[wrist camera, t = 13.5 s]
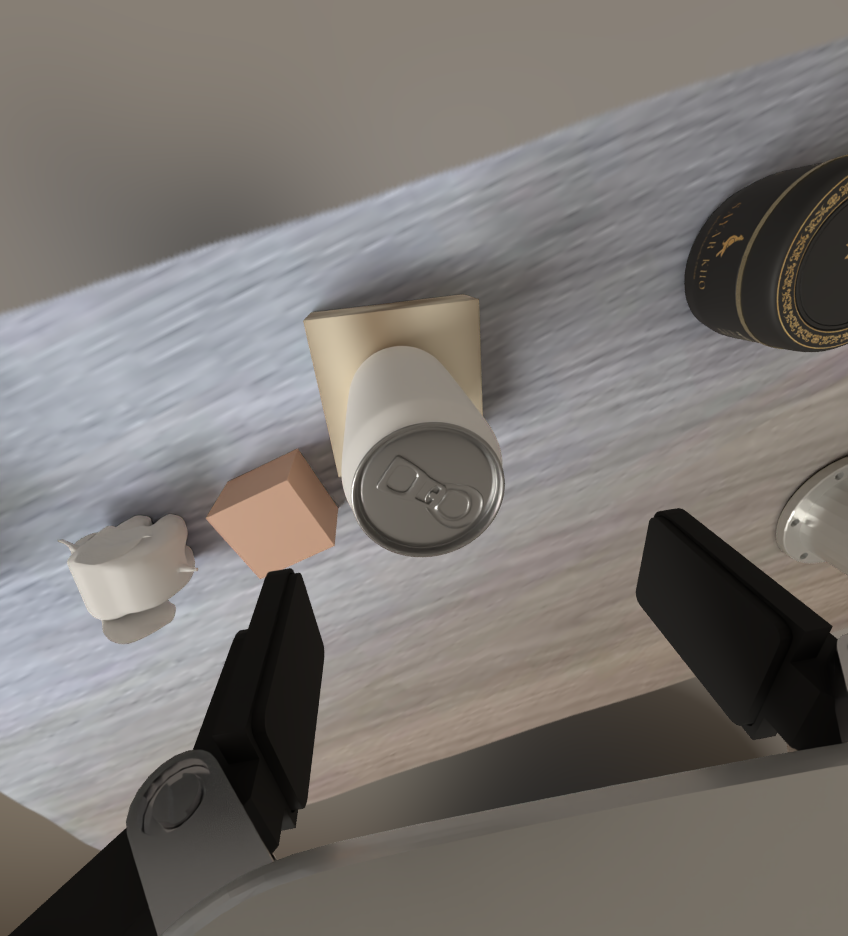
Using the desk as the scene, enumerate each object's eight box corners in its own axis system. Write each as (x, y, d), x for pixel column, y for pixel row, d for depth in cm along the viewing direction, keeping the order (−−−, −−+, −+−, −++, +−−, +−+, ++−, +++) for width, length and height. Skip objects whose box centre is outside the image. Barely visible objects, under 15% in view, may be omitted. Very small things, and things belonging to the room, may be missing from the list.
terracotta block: (297, 447, 30) (287, 480, 26) (338, 507, 33) (334, 545, 28) (228, 481, 31) (205, 518, 26) (273, 537, 33) (260, 579, 29)
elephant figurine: (64, 498, 29) (-16, 563, 23) (206, 495, 31) (166, 556, 24) (97, 579, 33) (35, 655, 26) (223, 573, 34) (192, 643, 28)
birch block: (463, 294, 27) (478, 299, 23) (470, 433, 31) (483, 454, 28) (311, 312, 26) (303, 320, 22) (341, 452, 31) (338, 477, 27)
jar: (710, 161, 25) (838, 124, 18) (839, 186, 27) (998, 161, 20) (652, 328, 30) (739, 347, 23) (766, 340, 31) (878, 362, 25)
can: (416, 461, 27) (451, 587, 17) (329, 414, 25) (305, 527, 14) (472, 380, 25) (551, 465, 15) (383, 321, 23) (400, 372, 12)
